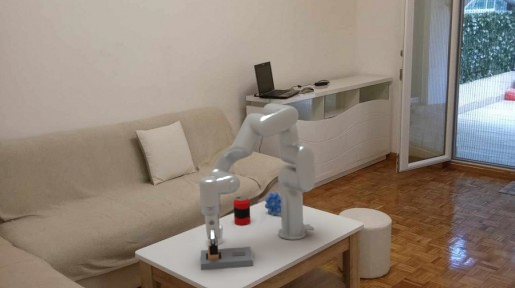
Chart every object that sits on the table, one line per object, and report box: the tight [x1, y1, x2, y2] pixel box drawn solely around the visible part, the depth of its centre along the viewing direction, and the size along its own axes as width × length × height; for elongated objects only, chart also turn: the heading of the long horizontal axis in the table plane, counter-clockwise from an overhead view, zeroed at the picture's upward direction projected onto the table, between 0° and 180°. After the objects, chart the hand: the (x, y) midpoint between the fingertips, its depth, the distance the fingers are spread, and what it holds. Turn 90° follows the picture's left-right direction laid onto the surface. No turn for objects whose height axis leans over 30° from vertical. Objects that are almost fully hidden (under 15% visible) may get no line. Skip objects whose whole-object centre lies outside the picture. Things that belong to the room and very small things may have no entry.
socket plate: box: [200, 246, 254, 271], centre depth 197 cm, size 20×12×3 cm, turn 96°
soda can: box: [233, 196, 251, 226], centre depth 235 cm, size 8×8×12 cm
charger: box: [207, 244, 220, 260], centre depth 196 cm, size 4×4×8 cm
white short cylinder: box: [208, 223, 224, 245], centre depth 215 cm, size 7×7×7 cm
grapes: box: [264, 192, 281, 216], centre depth 243 cm, size 12×7×12 cm, turn 51°
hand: (213, 249), depth 196 cm, fingers open, 9 cm apart
